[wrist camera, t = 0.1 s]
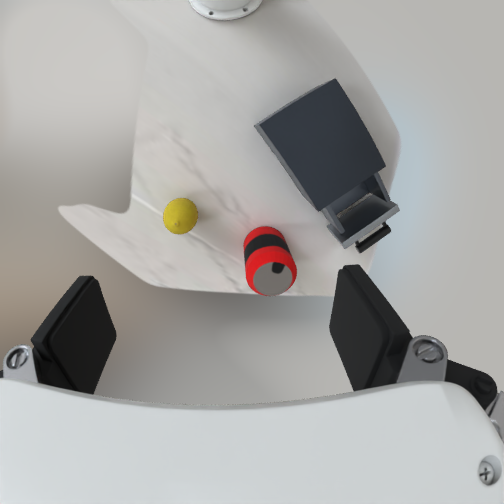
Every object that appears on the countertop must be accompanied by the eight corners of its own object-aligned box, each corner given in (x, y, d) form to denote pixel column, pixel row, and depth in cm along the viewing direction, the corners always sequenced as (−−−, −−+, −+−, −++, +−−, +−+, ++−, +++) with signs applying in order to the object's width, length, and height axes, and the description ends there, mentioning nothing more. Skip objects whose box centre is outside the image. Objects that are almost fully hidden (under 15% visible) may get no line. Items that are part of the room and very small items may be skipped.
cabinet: (359, 157, 44) (386, 166, 35) (302, 195, 46) (318, 212, 38) (315, 87, 38) (335, 78, 30) (253, 125, 41) (258, 124, 32)
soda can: (290, 231, 49) (306, 262, 38) (277, 267, 52) (288, 305, 41) (250, 221, 48) (254, 250, 37) (238, 258, 51) (240, 295, 40)
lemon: (204, 198, 46) (198, 211, 38) (196, 227, 48) (189, 245, 40) (173, 189, 45) (161, 201, 37) (166, 219, 47) (154, 236, 39)
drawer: (386, 215, 48) (407, 230, 41) (339, 248, 50) (355, 268, 43) (344, 134, 41) (364, 136, 34) (290, 169, 43) (300, 177, 36)
